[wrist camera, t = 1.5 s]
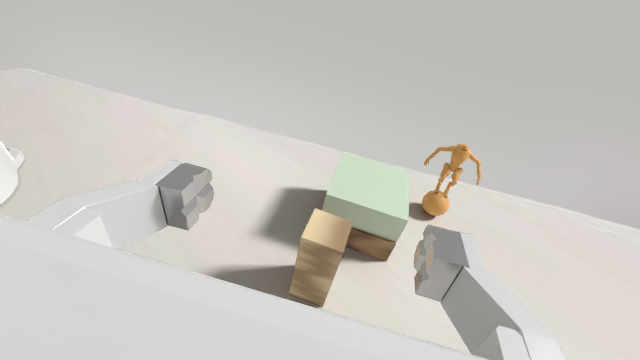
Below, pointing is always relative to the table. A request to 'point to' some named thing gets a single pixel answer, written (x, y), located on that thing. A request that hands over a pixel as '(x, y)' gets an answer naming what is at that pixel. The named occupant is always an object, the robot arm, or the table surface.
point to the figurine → (437, 200)
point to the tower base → (370, 244)
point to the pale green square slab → (370, 196)
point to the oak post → (319, 256)
